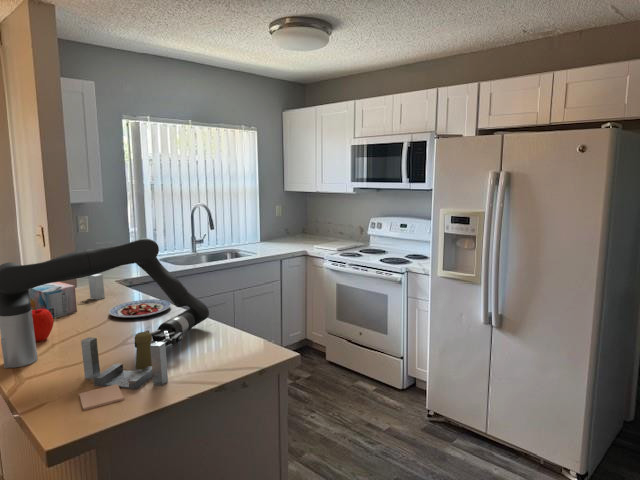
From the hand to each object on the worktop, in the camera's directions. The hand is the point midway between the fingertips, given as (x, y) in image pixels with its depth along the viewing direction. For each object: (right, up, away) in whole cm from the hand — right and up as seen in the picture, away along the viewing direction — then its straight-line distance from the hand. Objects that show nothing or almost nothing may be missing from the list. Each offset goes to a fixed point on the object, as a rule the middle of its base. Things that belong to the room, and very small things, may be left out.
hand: (147, 345), depth 149 cm
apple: (-49, -4, +25) cm, 55 cm away
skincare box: (-55, +5, +81) cm, 98 cm away
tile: (-5, -9, -21) cm, 24 cm away
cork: (0, -6, -1) cm, 6 cm away
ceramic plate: (-24, +2, +57) cm, 62 cm away
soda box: (-74, +2, +65) cm, 98 cm away
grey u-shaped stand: (-2, -8, -11) cm, 13 cm away
